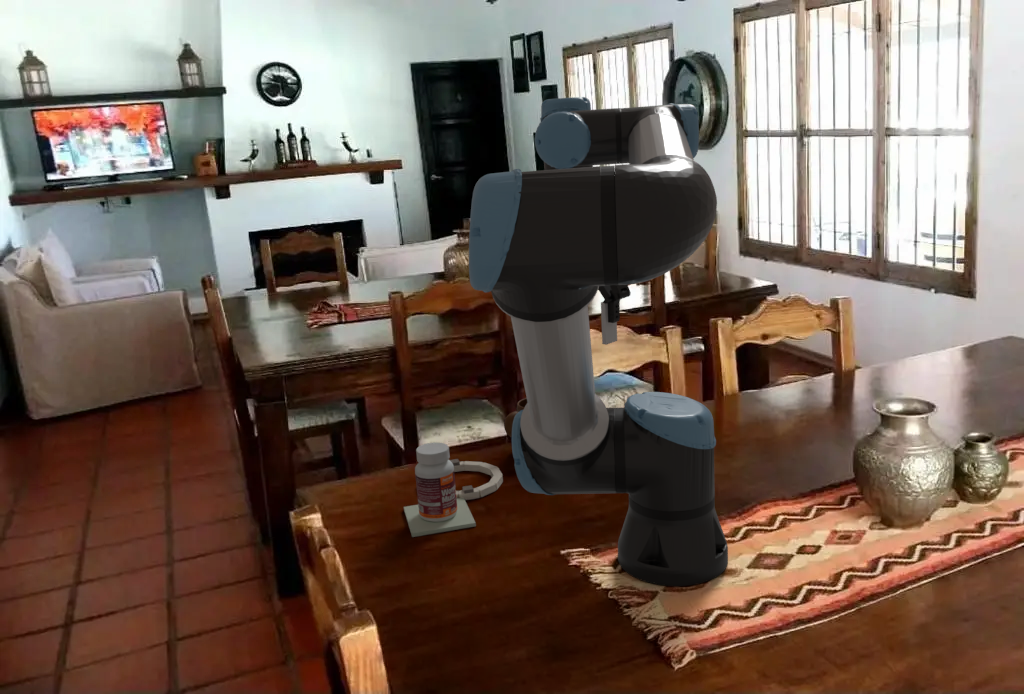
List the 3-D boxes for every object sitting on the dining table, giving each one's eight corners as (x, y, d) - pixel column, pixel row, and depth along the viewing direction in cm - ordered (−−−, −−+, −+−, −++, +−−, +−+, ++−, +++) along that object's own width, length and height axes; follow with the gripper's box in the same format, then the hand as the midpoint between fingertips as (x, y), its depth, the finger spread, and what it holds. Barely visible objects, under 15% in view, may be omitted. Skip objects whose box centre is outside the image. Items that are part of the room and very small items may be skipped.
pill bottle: (450, 524, 135) (445, 456, 132) (413, 522, 136) (407, 454, 134) (462, 507, 141) (457, 441, 138) (426, 505, 142) (420, 440, 139)
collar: (510, 492, 146) (509, 483, 146) (428, 506, 143) (427, 496, 143) (491, 462, 159) (491, 453, 159) (416, 474, 156) (415, 465, 156)
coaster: (475, 526, 135) (475, 522, 135) (412, 537, 133) (411, 533, 133) (463, 500, 144) (463, 497, 144) (403, 510, 142) (403, 506, 142)
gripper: (651, 201, 126) (654, 342, 132) (528, 198, 144) (536, 322, 149) (619, 207, 121) (624, 353, 127) (496, 203, 139) (505, 331, 144)
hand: (576, 337), depth 138 cm, fingers open, 13 cm apart
